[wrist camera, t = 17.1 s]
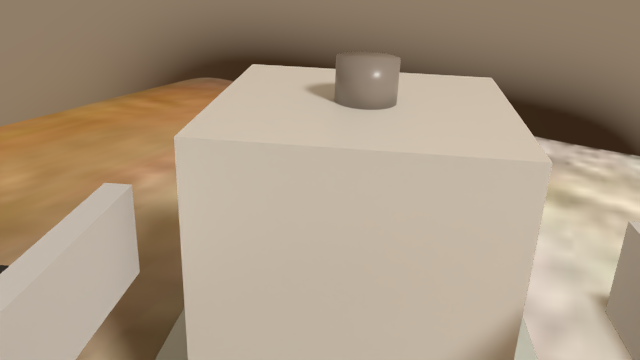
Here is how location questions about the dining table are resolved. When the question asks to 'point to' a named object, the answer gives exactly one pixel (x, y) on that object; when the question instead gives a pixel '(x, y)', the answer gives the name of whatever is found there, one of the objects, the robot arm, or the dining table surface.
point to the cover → (357, 215)
